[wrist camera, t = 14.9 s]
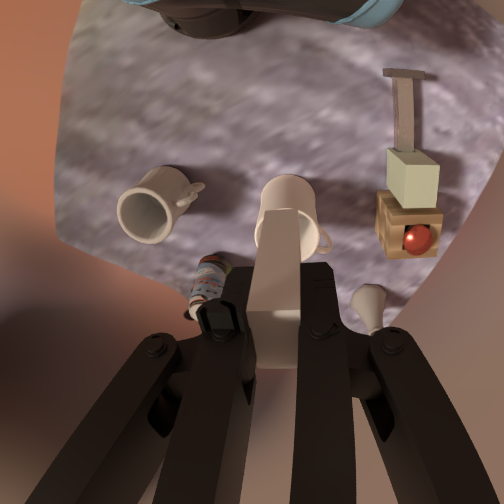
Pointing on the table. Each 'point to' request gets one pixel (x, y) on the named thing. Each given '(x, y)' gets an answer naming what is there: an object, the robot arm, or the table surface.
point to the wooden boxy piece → (403, 225)
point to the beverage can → (208, 281)
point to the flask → (370, 306)
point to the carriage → (412, 178)
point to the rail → (403, 106)
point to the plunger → (417, 239)
